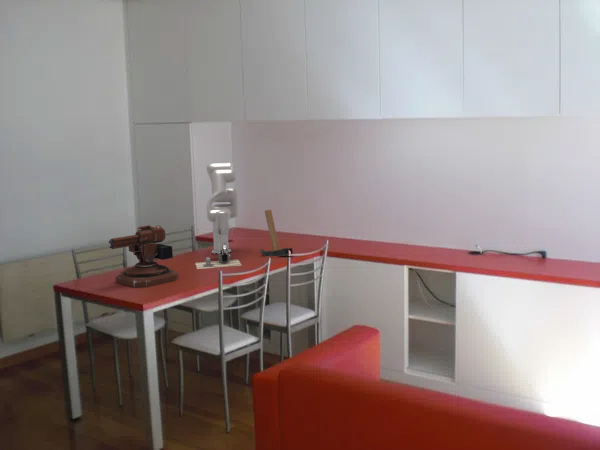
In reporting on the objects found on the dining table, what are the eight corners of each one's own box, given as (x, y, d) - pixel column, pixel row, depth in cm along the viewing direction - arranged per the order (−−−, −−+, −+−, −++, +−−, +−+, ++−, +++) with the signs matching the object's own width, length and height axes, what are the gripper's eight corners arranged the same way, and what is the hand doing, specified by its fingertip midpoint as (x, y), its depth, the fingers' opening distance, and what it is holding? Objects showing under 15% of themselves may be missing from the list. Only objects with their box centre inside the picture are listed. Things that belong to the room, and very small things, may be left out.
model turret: (100, 283, 381) (95, 229, 377) (155, 272, 405) (151, 221, 401) (127, 291, 361) (122, 234, 357) (183, 279, 386) (179, 225, 381)
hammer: (261, 259, 441) (251, 213, 438) (264, 258, 446) (254, 212, 443) (290, 255, 434) (280, 207, 431) (293, 253, 439) (283, 206, 436)
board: (195, 264, 422) (194, 254, 421) (238, 261, 427) (237, 251, 427) (197, 270, 405) (196, 260, 404) (241, 267, 410) (241, 257, 409)
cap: (218, 261, 423) (217, 253, 423) (229, 260, 425) (229, 252, 424) (219, 263, 417) (218, 255, 416) (231, 262, 418) (230, 254, 418)
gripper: (215, 229, 425) (216, 257, 428) (217, 234, 409) (219, 263, 411) (227, 229, 427) (228, 256, 429) (230, 233, 410) (231, 262, 413)
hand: (224, 259), depth 420 cm, fingers open, 9 cm apart
